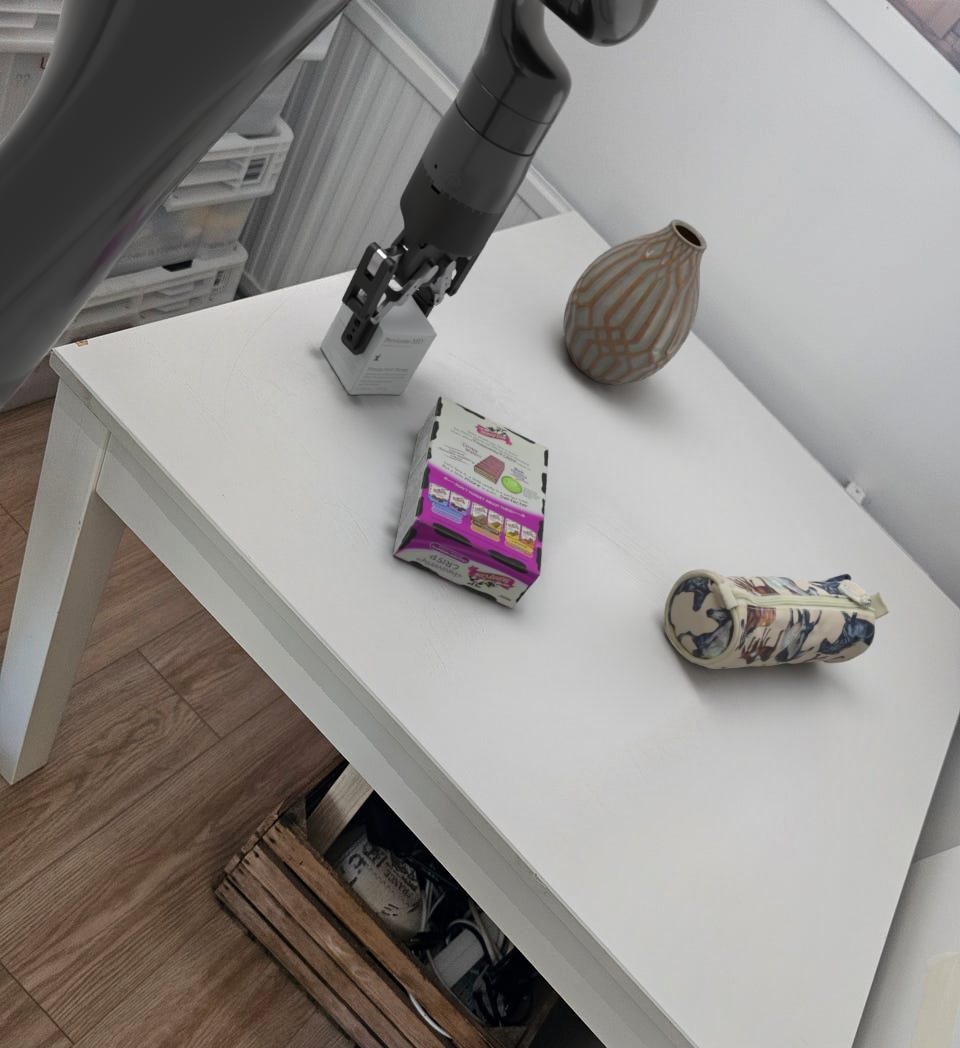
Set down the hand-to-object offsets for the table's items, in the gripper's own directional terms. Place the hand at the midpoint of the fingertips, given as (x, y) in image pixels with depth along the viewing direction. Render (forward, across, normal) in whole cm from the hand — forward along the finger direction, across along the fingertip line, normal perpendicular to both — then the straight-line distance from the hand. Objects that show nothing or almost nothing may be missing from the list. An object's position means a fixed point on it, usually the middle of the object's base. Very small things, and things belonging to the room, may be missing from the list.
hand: (378, 338), depth 91 cm
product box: (+4, 0, 0) cm, 4 cm away
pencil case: (+4, -12, +42) cm, 44 cm away
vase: (+4, -32, +9) cm, 33 cm away
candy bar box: (+2, +11, +21) cm, 24 cm away
